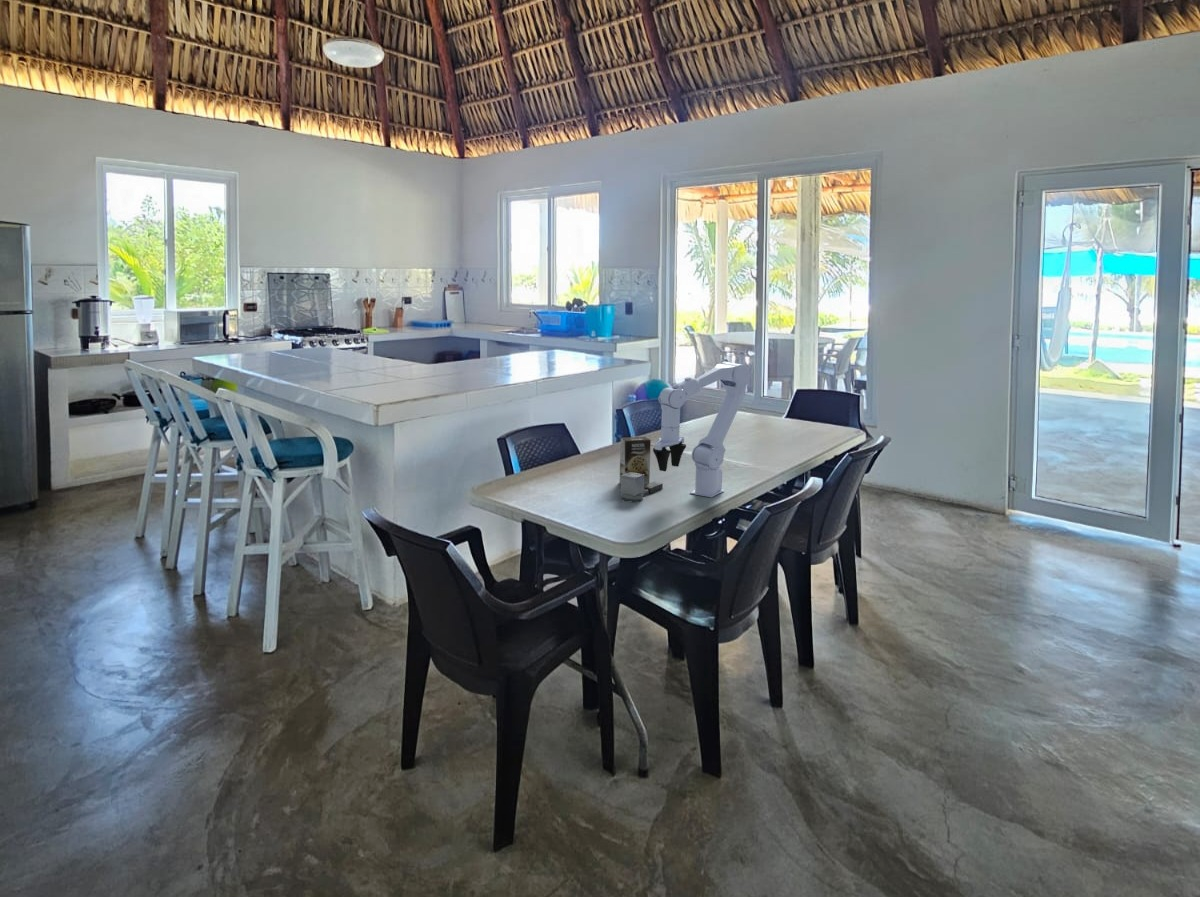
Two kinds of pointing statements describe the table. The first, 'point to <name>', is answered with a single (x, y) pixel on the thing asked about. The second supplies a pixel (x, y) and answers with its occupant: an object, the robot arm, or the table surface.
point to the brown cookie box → (635, 456)
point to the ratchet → (647, 490)
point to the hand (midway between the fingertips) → (669, 468)
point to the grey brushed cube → (632, 484)
